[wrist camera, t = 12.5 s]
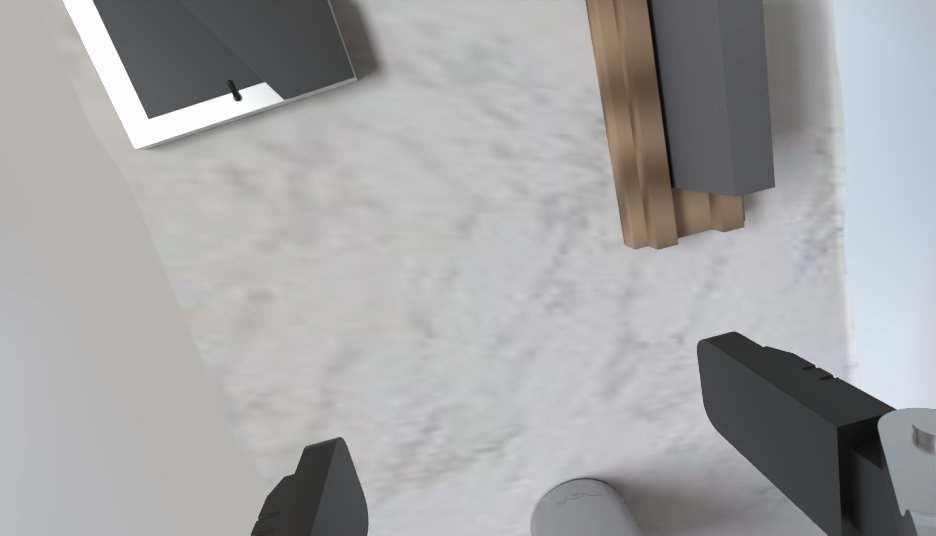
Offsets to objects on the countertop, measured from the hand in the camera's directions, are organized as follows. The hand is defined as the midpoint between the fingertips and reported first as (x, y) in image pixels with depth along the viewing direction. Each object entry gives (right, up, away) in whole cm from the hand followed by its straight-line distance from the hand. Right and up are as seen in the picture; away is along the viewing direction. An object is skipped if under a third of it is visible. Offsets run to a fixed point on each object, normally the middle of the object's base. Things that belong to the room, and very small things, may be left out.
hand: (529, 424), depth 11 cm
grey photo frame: (+13, +16, +24) cm, 32 cm away
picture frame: (-20, +24, +22) cm, 38 cm away
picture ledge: (+13, +17, +26) cm, 34 cm away
